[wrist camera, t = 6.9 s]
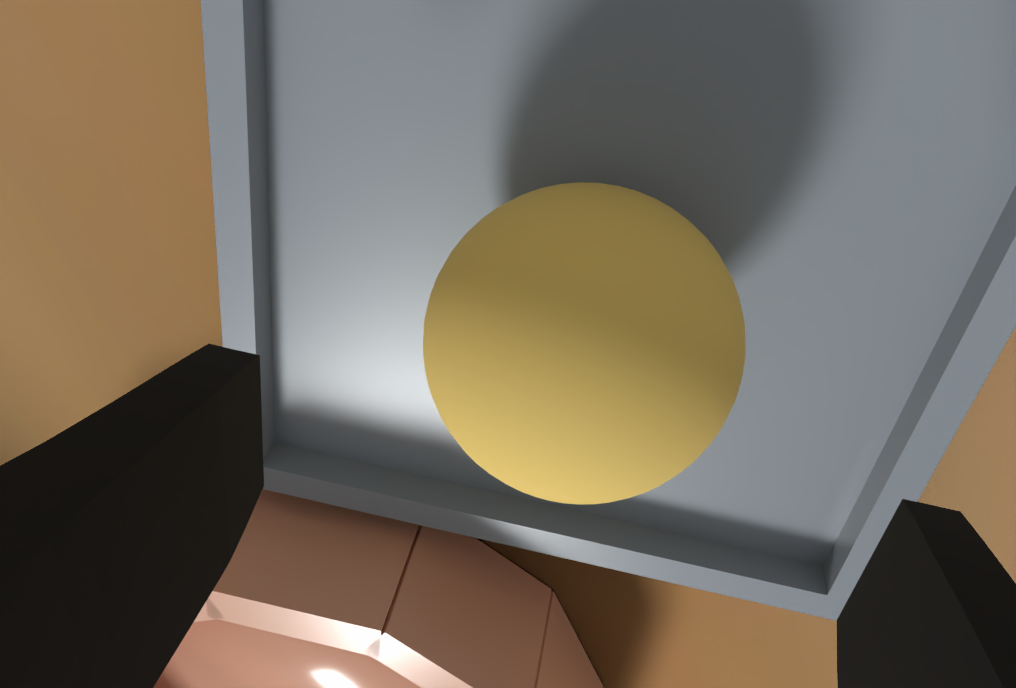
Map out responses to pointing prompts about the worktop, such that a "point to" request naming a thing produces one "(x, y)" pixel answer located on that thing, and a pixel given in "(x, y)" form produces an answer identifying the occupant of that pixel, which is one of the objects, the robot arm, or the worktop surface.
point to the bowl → (373, 610)
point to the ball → (584, 343)
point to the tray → (659, 174)
